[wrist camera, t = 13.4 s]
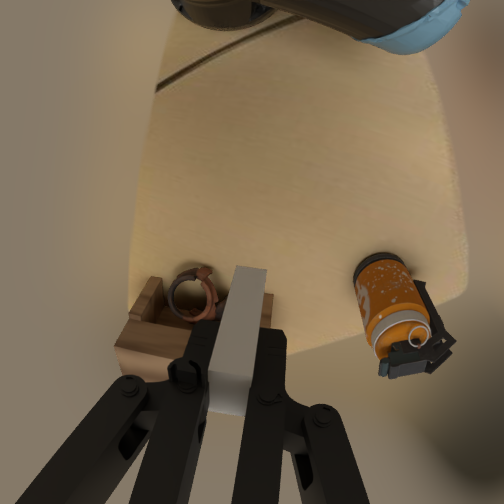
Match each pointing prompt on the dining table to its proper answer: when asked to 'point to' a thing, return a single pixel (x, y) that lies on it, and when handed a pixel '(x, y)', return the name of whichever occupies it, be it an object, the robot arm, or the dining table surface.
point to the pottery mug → (210, 310)
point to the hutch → (159, 334)
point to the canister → (399, 318)
